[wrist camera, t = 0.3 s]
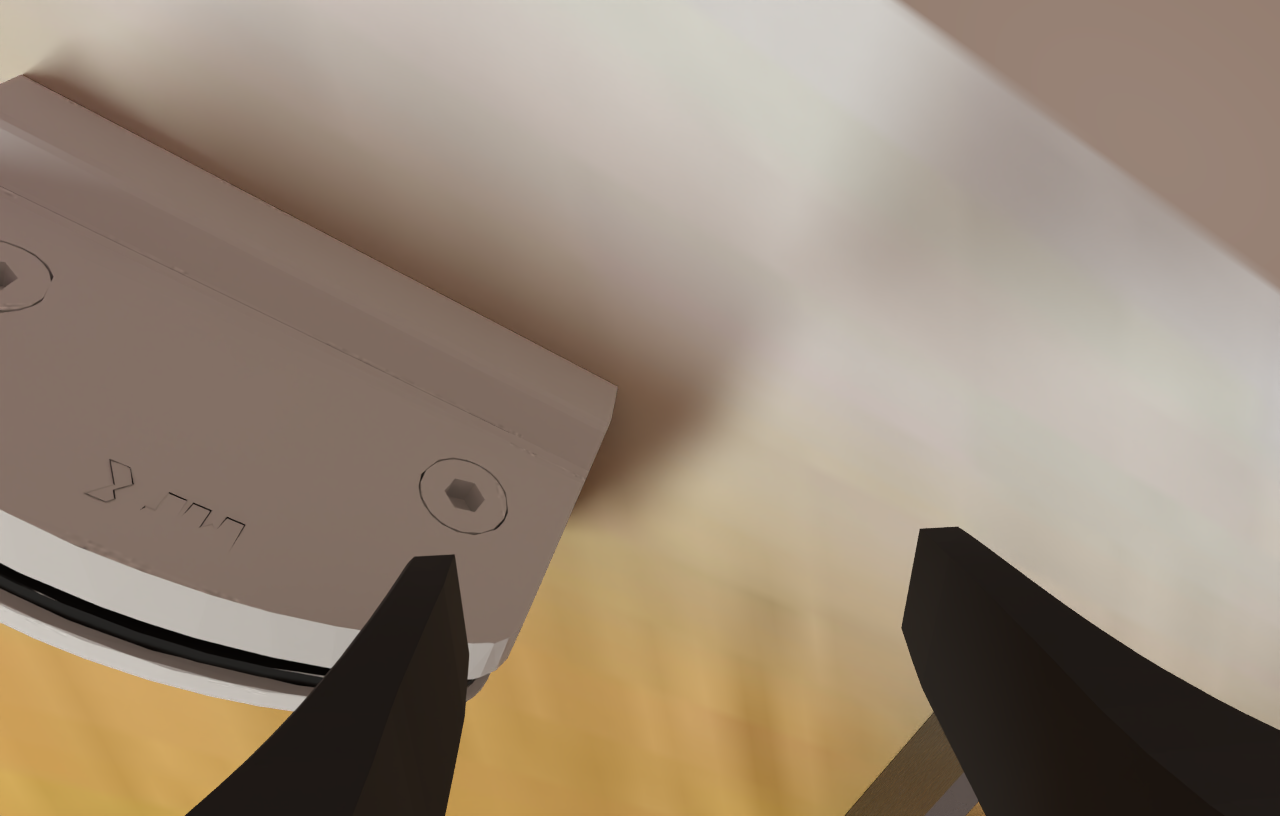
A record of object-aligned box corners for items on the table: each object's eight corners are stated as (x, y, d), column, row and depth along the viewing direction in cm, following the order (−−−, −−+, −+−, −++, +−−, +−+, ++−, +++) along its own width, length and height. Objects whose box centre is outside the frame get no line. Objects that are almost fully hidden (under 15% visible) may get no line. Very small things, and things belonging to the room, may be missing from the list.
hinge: (631, 393, 23) (570, 719, 15) (556, 493, 26) (472, 813, 18) (3, 64, 19) (-510, 279, 11) (-8, 224, 22) (-427, 487, 14)
